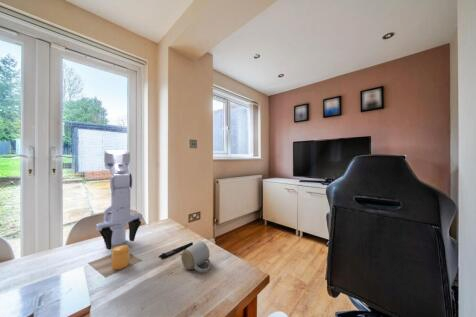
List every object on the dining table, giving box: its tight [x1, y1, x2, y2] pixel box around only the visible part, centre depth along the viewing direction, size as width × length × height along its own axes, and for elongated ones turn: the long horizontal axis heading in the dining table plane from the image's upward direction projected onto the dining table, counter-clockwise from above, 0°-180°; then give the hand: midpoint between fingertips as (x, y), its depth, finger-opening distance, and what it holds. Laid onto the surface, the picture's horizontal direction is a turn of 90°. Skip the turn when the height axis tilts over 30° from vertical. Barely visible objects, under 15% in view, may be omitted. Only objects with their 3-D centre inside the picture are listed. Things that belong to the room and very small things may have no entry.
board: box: [87, 252, 143, 279], centre depth 67 cm, size 15×12×6 cm
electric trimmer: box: [158, 242, 194, 261], centre depth 75 cm, size 4×16×3 cm, turn 140°
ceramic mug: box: [180, 240, 212, 274], centre depth 67 cm, size 11×8×8 cm
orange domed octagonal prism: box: [111, 244, 130, 270], centre depth 65 cm, size 5×5×6 cm
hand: (120, 244), depth 65 cm, fingers open, 7 cm apart
